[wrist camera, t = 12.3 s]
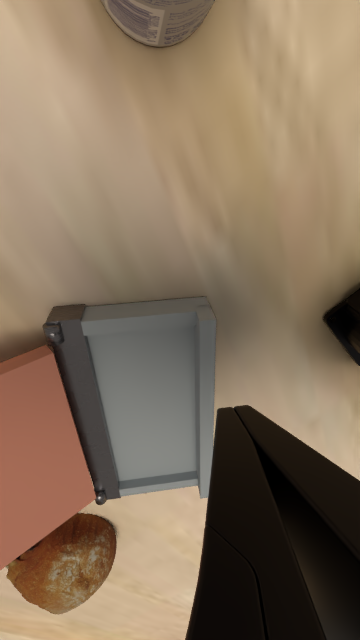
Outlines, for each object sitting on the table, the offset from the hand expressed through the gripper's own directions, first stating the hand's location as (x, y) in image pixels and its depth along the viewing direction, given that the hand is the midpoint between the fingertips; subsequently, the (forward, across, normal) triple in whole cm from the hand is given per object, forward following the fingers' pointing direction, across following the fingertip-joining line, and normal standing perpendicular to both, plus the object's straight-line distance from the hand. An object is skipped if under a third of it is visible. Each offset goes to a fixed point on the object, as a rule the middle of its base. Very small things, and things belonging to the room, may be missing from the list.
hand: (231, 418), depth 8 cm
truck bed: (+13, -2, -12) cm, 18 cm away
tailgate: (+11, -8, -12) cm, 18 cm away
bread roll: (+13, -13, -30) cm, 35 cm away
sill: (+13, -8, -12) cm, 19 cm away
